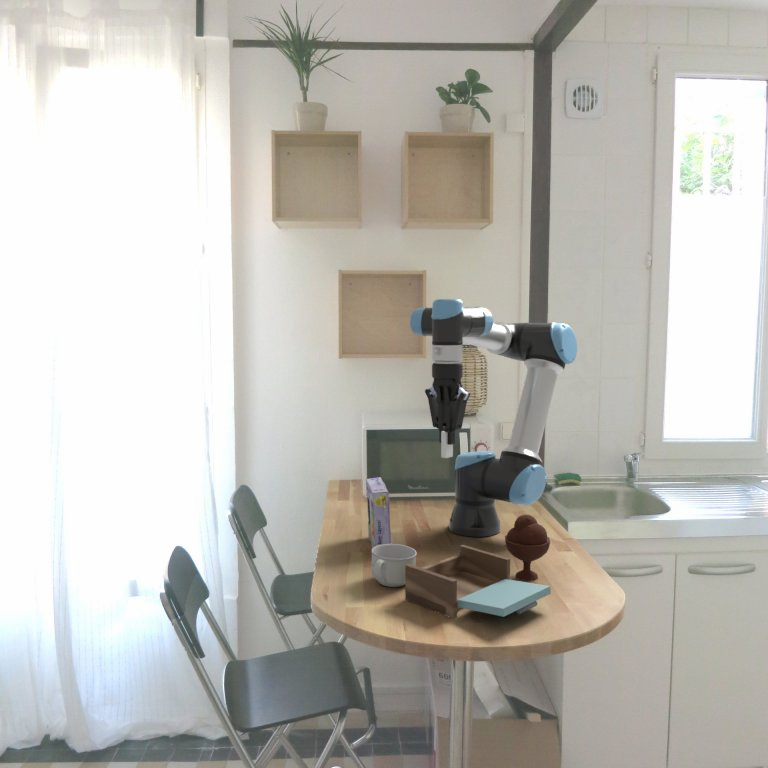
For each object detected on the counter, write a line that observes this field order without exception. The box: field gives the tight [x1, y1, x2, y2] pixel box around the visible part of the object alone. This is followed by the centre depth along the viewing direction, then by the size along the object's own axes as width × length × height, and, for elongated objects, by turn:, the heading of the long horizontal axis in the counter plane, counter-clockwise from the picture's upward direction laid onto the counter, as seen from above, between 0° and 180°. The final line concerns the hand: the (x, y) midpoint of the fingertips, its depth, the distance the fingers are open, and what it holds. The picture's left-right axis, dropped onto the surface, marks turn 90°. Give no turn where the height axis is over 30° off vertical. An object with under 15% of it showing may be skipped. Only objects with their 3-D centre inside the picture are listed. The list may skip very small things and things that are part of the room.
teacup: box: [370, 543, 418, 588], centre depth 170 cm, size 14×11×8 cm
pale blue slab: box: [457, 579, 552, 618], centre depth 153 cm, size 17×3×12 cm
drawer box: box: [404, 544, 511, 619], centre depth 162 cm, size 20×14×8 cm
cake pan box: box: [365, 477, 392, 549], centre depth 197 cm, size 19×5×18 cm, turn 7°
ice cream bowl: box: [504, 514, 551, 582], centre depth 174 cm, size 11×11×15 cm
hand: (447, 456), depth 178 cm, fingers closed
